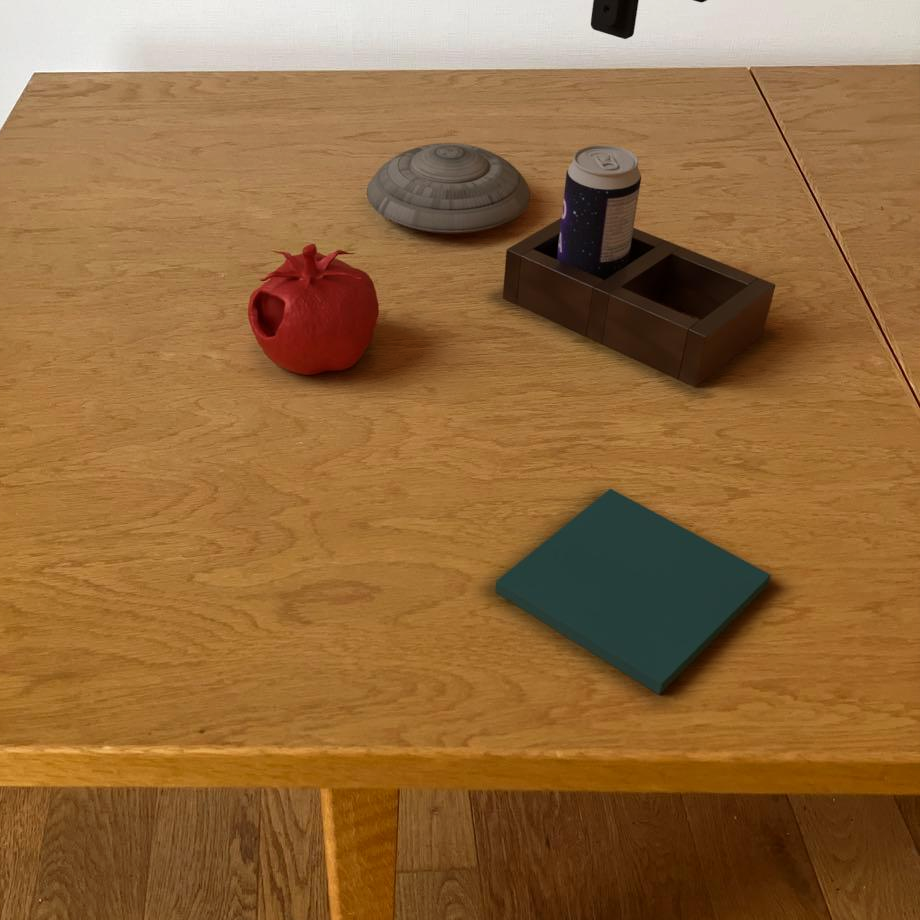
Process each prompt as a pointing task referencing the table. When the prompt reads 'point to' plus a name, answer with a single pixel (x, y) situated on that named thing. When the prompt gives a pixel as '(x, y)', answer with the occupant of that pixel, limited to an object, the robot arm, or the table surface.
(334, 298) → the pomegranate
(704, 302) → the box
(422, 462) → the table surface
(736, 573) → the mat
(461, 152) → the flying saucer
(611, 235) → the beverage can
